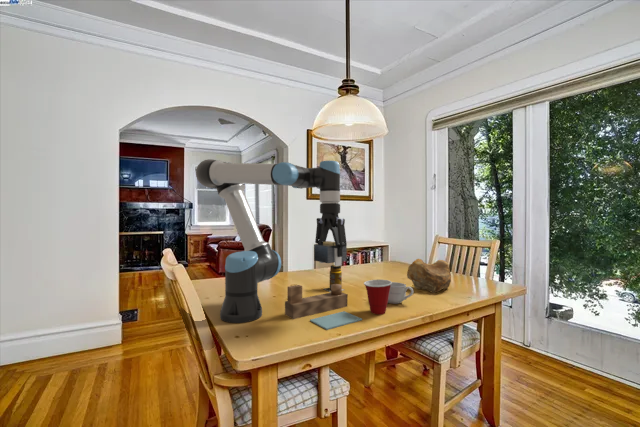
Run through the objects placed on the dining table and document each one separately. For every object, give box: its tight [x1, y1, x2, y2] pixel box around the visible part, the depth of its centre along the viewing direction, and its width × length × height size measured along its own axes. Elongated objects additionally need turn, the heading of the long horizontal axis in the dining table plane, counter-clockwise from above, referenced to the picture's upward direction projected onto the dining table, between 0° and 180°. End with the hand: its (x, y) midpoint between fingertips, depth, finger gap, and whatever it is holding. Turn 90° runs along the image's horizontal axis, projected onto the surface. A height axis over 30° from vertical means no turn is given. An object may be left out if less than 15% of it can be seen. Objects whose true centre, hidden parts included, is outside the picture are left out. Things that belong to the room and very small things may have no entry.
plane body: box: [284, 284, 349, 320], centre depth 122 cm, size 26×6×11 cm, turn 126°
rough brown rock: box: [406, 258, 452, 294], centre depth 155 cm, size 23×17×15 cm
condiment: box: [323, 264, 345, 293], centre depth 154 cm, size 7×8×12 cm
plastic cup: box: [363, 279, 393, 315], centre depth 120 cm, size 11×11×12 cm
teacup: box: [387, 281, 414, 304], centre depth 133 cm, size 14×11×8 cm
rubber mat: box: [309, 311, 363, 331], centre depth 111 cm, size 16×10×1 cm, turn 126°
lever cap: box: [313, 240, 348, 264], centre depth 115 cm, size 9×8×7 cm
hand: (330, 264), depth 115 cm, fingers closed on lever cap, 8 cm apart
